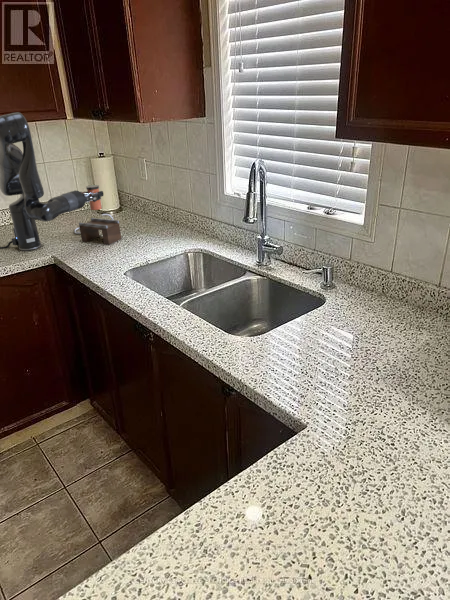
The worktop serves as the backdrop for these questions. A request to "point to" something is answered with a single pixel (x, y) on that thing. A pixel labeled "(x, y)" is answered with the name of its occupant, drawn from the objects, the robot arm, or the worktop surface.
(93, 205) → the spice jar
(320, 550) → the worktop surface
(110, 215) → the hook
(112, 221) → the rail rack
